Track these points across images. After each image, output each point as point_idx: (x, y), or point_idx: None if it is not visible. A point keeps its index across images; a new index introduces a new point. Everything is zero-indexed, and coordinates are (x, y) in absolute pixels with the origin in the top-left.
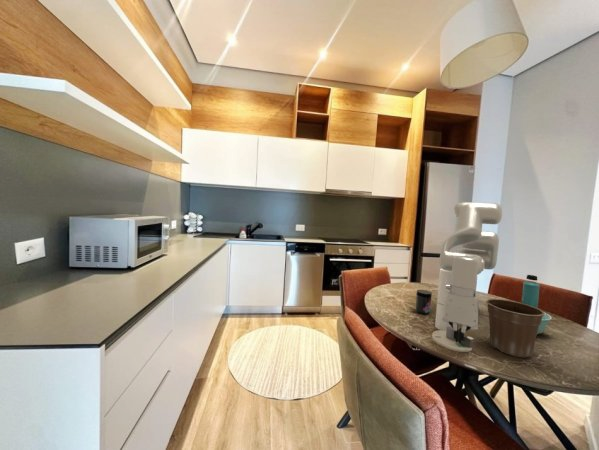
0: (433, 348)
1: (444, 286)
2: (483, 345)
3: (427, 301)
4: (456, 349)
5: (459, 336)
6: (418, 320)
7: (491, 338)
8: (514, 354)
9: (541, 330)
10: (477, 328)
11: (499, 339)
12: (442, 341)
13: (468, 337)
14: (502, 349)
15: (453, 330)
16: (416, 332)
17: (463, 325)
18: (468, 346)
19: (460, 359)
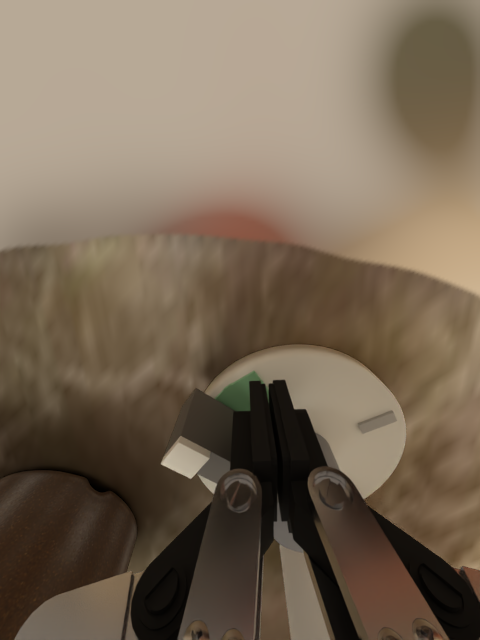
0: (396, 291)
1: None
2: (156, 488)
3: None
4: (267, 353)
5: (266, 421)
6: (440, 549)
7: (108, 548)
8: (23, 477)
9: None
10: (29, 630)
11: (46, 552)
12: (353, 380)
13: (196, 457)
14: (68, 488)
15: None
16: (475, 428)
17: (240, 620)
18: (203, 397)
19: (240, 258)
